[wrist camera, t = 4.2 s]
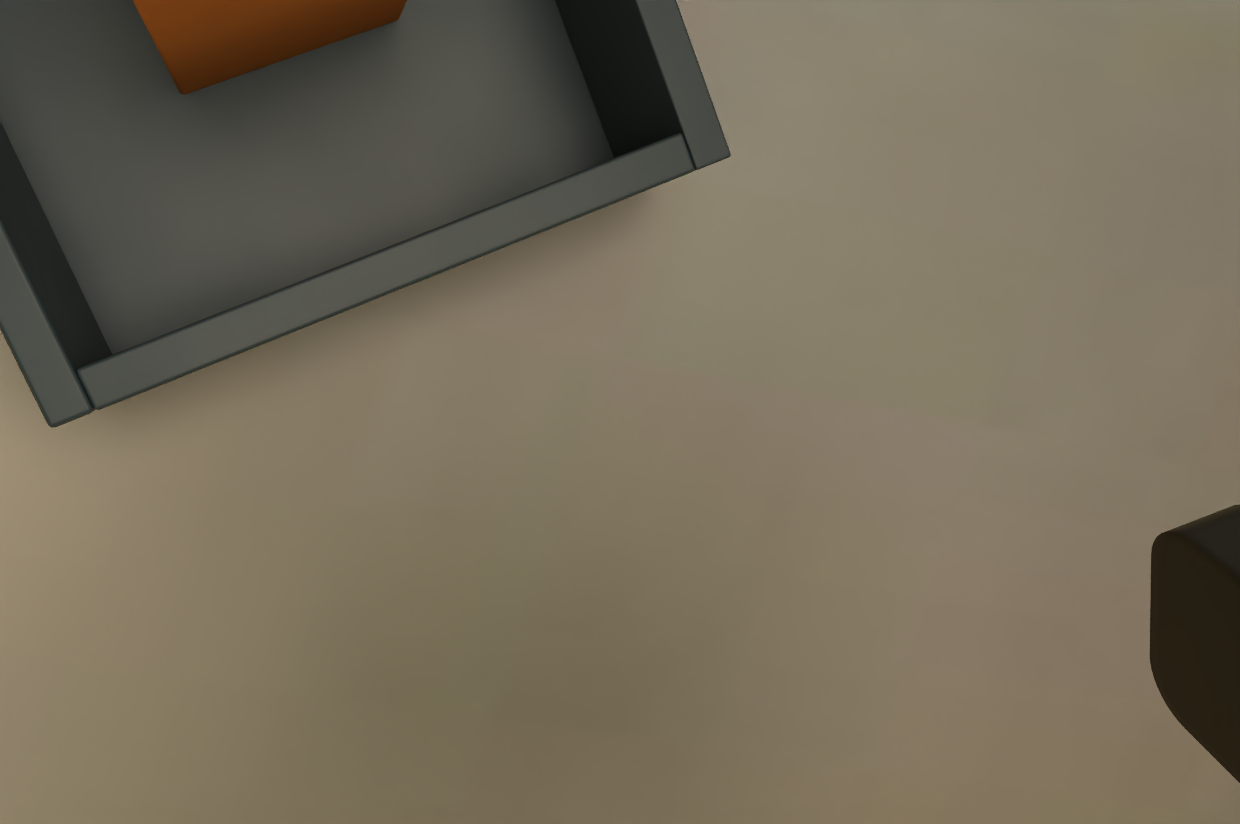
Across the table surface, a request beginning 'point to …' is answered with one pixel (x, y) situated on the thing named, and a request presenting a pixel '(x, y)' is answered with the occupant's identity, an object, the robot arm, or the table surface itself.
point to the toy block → (251, 32)
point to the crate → (306, 171)
